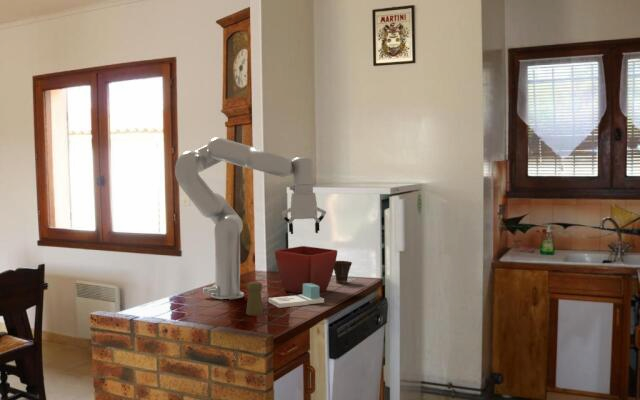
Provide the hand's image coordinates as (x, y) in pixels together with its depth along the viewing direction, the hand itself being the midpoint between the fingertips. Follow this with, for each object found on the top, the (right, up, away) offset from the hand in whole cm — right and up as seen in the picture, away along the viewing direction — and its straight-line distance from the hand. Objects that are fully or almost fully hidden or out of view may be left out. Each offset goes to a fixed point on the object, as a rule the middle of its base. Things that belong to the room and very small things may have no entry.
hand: (304, 233), depth 228 cm
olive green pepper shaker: (-17, -27, -25) cm, 40 cm away
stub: (+3, -26, -5) cm, 26 cm away
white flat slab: (-6, -26, -9) cm, 28 cm away
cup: (+16, -24, +33) cm, 43 cm away
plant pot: (0, -25, +14) cm, 29 cm away
